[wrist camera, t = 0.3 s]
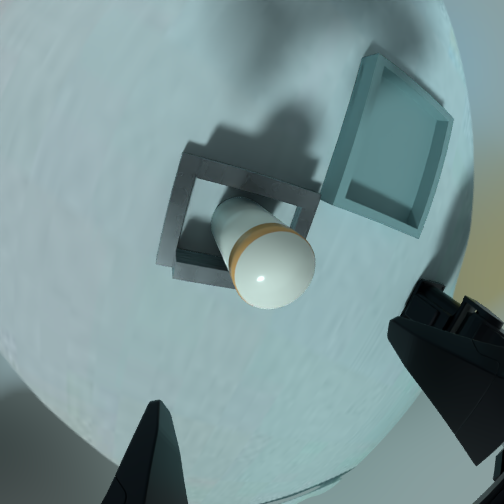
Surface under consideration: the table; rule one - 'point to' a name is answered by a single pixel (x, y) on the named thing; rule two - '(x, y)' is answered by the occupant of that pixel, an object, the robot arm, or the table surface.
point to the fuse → (262, 254)
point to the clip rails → (211, 266)
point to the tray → (388, 149)
